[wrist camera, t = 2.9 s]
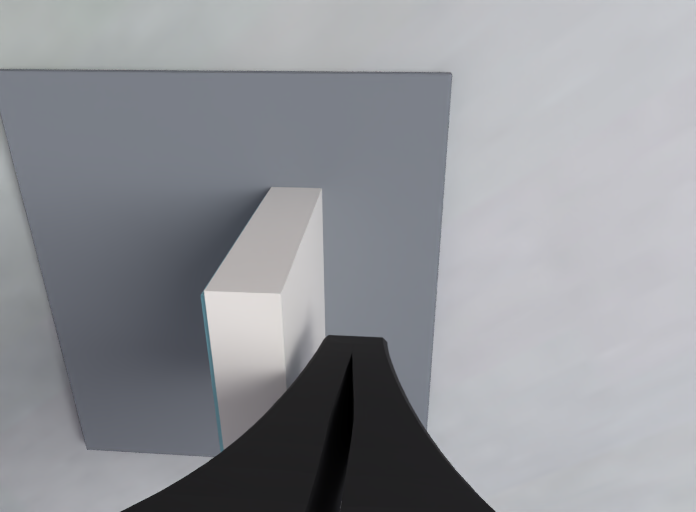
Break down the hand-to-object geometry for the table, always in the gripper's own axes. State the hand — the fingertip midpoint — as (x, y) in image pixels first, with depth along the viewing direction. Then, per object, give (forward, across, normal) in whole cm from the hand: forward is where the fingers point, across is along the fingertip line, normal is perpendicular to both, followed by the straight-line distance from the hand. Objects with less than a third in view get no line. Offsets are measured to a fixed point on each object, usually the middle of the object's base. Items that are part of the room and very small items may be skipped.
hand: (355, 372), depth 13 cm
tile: (+4, +2, 0) cm, 5 cm away
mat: (+5, +4, +1) cm, 6 cm away
